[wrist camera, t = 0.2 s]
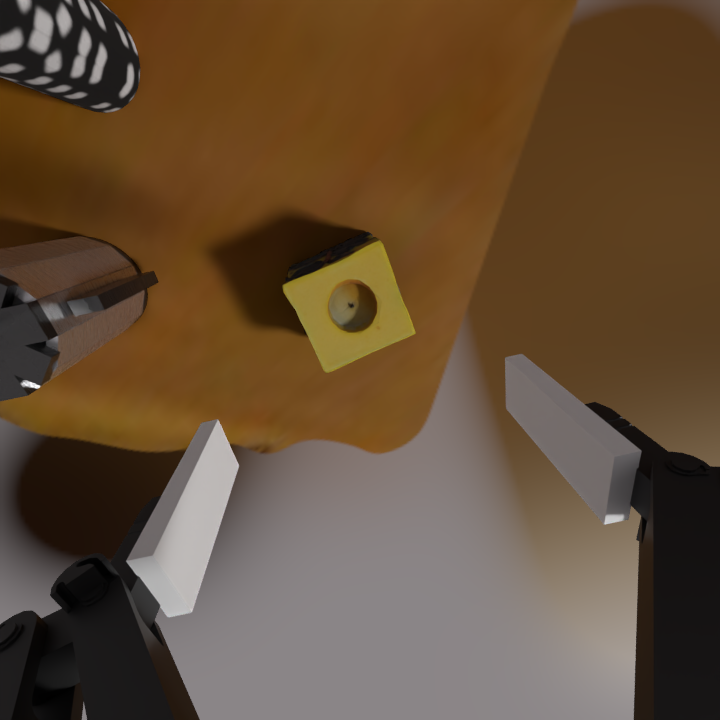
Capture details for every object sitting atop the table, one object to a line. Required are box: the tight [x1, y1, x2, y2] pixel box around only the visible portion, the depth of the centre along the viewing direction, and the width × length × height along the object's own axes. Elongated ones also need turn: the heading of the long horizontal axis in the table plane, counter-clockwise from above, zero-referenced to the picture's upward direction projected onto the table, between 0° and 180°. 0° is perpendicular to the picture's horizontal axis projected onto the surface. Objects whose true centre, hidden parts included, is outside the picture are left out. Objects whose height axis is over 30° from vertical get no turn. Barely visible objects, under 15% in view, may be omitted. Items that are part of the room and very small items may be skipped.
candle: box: [282, 232, 416, 373], centre depth 38 cm, size 10×10×10 cm
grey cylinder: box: [0, 236, 158, 401], centre depth 32 cm, size 10×13×16 cm
